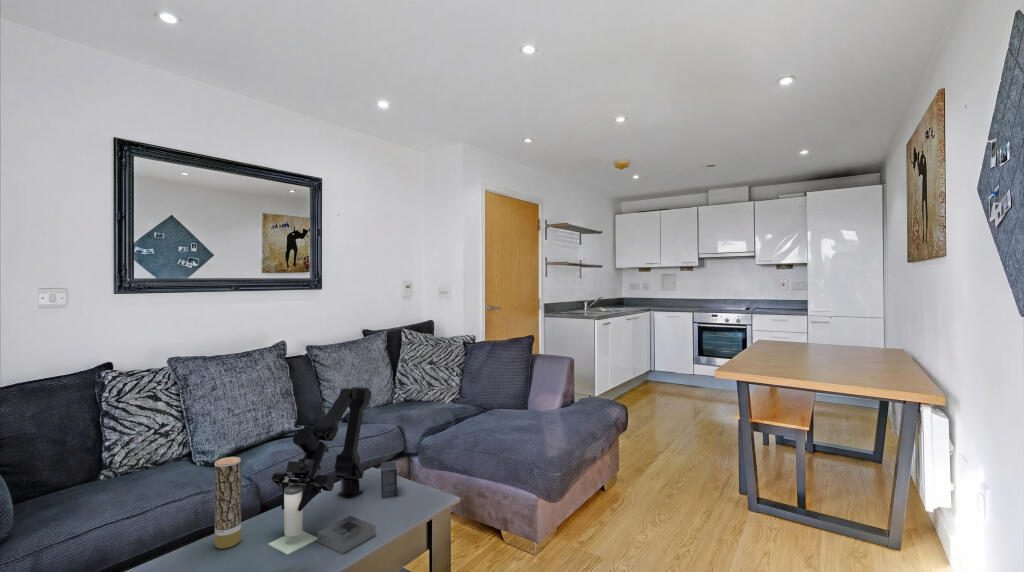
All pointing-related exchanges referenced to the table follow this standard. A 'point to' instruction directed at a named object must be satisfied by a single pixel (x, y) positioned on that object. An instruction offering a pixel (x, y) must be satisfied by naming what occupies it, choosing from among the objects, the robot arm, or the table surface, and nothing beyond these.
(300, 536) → the mat
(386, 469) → the box
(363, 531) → the frame
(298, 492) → the plug
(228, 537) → the bark textured cylinder
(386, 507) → the table surface
